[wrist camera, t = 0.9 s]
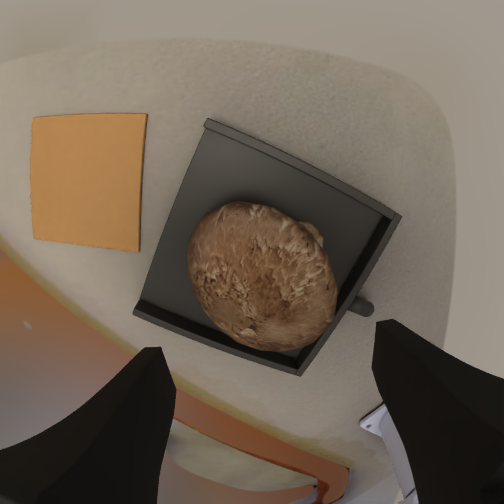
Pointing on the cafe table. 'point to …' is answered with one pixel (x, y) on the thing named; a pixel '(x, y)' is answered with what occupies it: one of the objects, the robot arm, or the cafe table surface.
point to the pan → (273, 195)
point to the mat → (88, 179)
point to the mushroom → (262, 276)
